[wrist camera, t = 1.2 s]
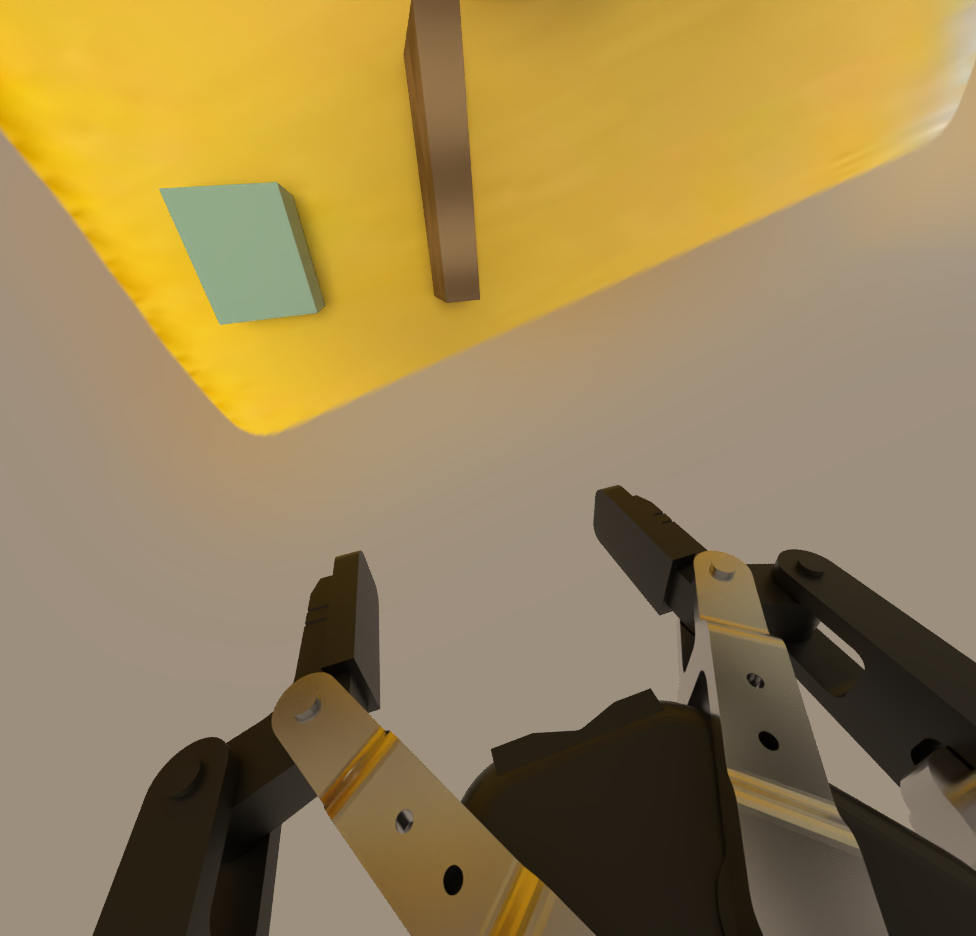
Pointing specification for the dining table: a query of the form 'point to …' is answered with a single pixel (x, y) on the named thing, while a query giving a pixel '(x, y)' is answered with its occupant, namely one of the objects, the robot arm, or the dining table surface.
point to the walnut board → (443, 145)
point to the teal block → (246, 250)
